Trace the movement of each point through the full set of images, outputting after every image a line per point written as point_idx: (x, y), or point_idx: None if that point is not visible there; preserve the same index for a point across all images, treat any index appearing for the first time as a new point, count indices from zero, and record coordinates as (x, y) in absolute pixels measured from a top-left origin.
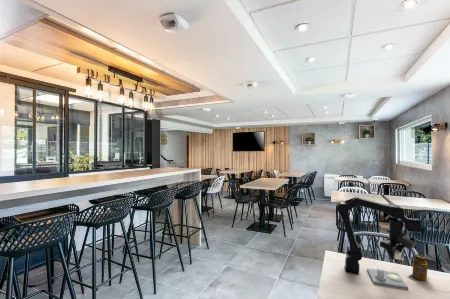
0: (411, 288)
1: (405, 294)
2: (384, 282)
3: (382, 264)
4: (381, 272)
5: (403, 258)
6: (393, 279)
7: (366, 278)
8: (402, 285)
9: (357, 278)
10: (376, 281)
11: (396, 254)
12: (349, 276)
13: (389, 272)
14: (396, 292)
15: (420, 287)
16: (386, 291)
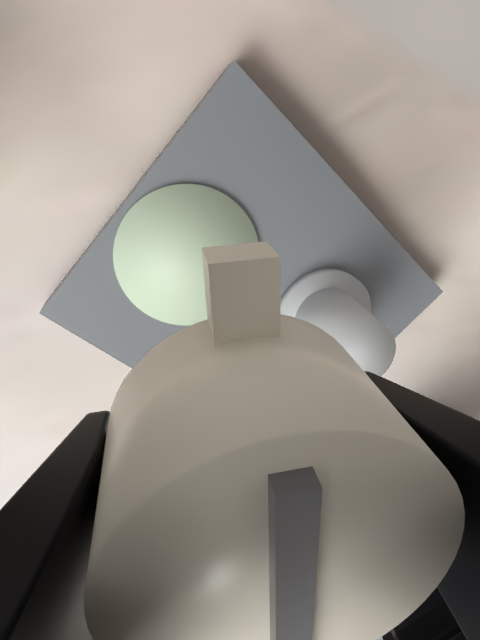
0: (161, 58)
1: (355, 20)
2: (375, 243)
3: (15, 479)
4: (383, 324)
5: (225, 261)
6: (240, 240)
7: (396, 357)
8: (261, 119)
9: (454, 377)
10: (422, 283)
11: (421, 443)
12: (474, 411)
13: (131, 350)
14: (398, 97)
15: (11, 6)
16: (459, 156)
